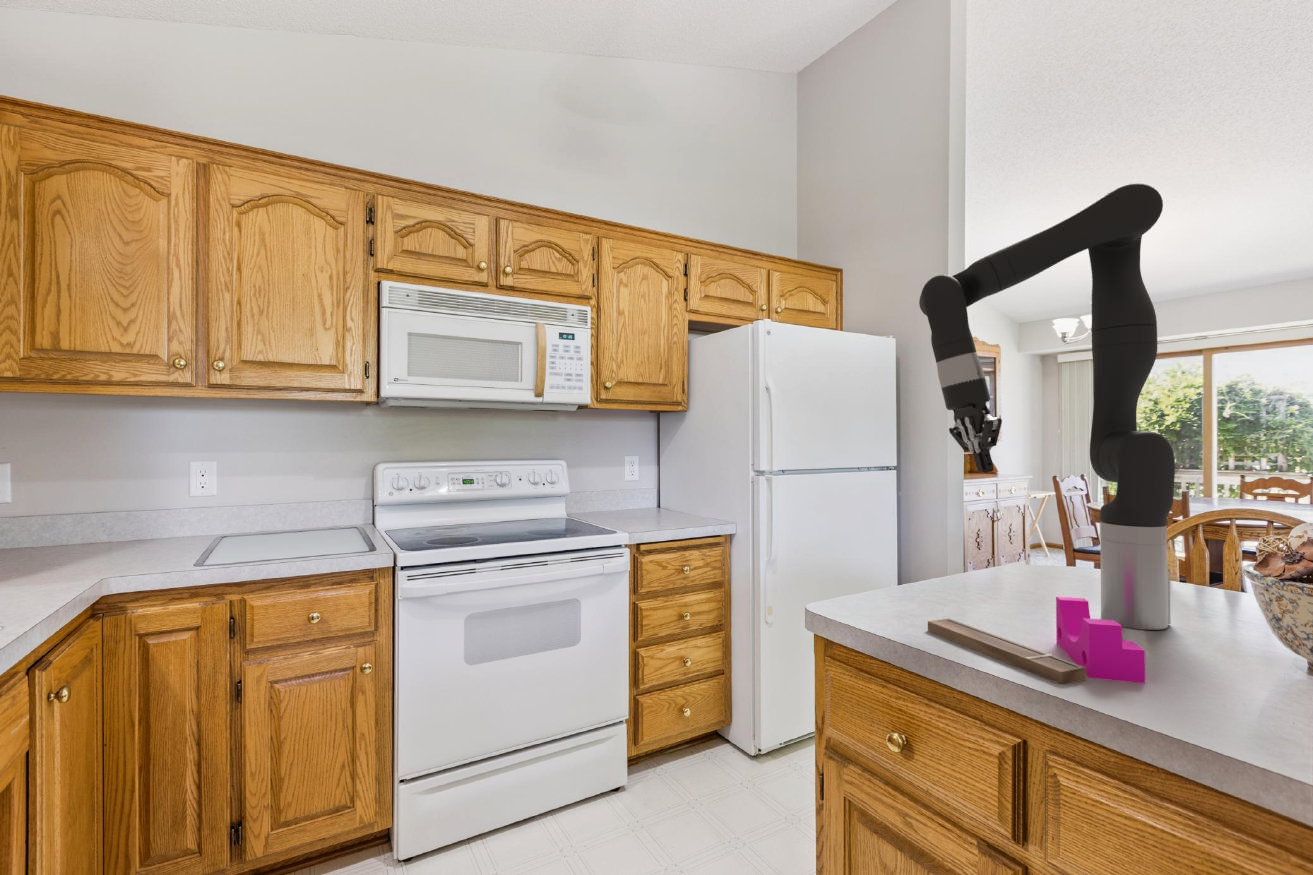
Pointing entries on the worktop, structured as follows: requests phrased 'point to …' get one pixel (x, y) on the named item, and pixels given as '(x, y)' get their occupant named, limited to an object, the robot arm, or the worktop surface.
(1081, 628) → the toy block
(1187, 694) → the worktop surface
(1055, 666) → the walnut plank
